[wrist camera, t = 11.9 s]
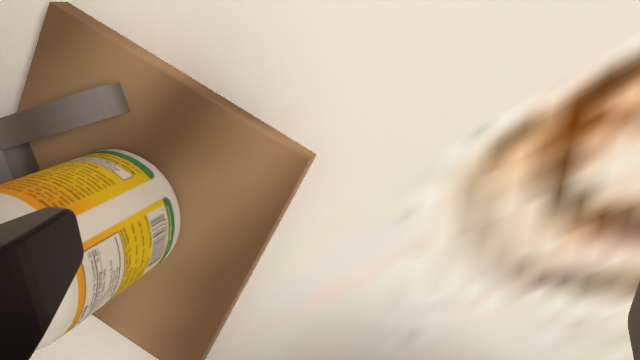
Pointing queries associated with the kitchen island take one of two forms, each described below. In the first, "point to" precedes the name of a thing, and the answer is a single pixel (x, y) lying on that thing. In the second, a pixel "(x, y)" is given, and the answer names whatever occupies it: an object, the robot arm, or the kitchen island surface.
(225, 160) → the square wooden base plate
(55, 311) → the robot arm
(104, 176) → the supplement bottle
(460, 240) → the kitchen island surface
